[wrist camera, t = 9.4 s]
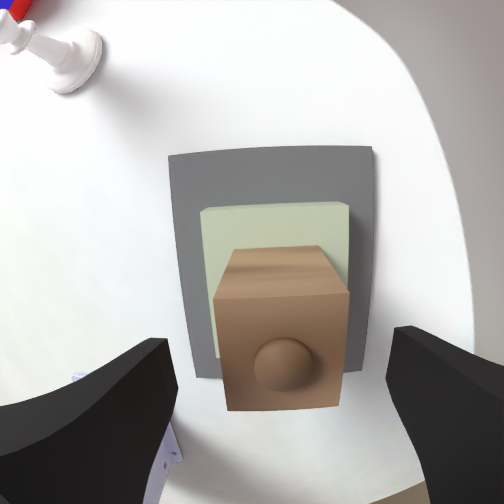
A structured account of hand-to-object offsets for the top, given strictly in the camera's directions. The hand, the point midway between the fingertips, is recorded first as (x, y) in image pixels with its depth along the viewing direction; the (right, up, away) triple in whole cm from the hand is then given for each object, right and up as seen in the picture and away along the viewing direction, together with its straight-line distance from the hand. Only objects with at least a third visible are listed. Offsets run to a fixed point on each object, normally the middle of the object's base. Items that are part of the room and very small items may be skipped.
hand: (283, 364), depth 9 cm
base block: (0, +2, +8) cm, 8 cm away
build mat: (0, +2, +8) cm, 9 cm away
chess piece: (-13, +16, +6) cm, 22 cm away
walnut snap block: (0, +2, +6) cm, 6 cm away
